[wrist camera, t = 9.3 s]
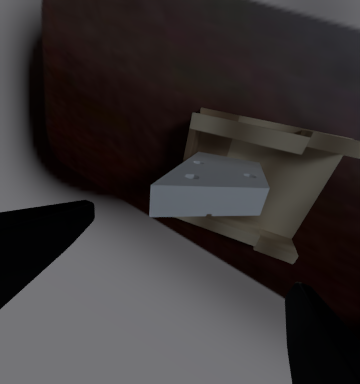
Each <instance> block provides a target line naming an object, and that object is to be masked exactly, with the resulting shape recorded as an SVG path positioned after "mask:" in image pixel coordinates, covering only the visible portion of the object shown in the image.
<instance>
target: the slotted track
mask: <svg viewBox="0 0 360 384" xmlns="http://www.w3.org/2000/svg"><path fill="white" fill-rule="evenodd" d="M197 152H203V153H209V154H214V155H220V156H226V157H231V158H237V159H242V160H248V161H253V162H259V163H260V165H261V167H262V170H263V173H264V175H265V178H266V180H267V183H268V185H269V188H270V189H269V192H268V194H267V197H266V200H265V203H264V205H263V208H262V211H261V214H260V216H212V214H207V215H206V216H191V217H175V218H178V219H181V220H183V221H186V222H189V223H192V224H194V225H197V226H200V227H203V228H205V229H208V230H211V231H214V232H216V233H219V234H222V235H225V236H227V237H230V238H233V239H236V240H238V241H241V242H244V243H247V244H249V245H252V246H253V250H256V251H258V252H261V253H264V254H267V255H269V256H272V257H275V258H277V259H280V260H283V261H286V262H288V263H291V264H294V262H295V261H296V259H297V258H298V254H297V251H296V249H295V247H294V244H293V242H292V237H293V236H294V234H295V233H296V231H297V229H298V228H299V226H300V224H301V223H302V221H303V220H304V218H305V216H306V215H307V213H308V212H309V210H310V208H311V207H312V205H313V203H314V202H315V200H316V199H317V197H318V195H319V194H320V192H321V190H322V189H323V187H324V186H325V184H326V182H327V181H328V179H329V178H330V176H331V174H332V173H333V171H334V169H335V168H336V166H337V165H338V163H339V161H340V160H341V158H342V157H343V155H346V156H350V157H355V158H359V159H360V141H356V140H353V139H351V138H346V137H341V136H337V135H332V134H327V133H322V132H317V131H312V130H307V129H303V128H298V127H293V126H288V125H283V124H278V123H273V122H269V121H264V120H259V119H254V118H249V117H244V116H240V115H235V114H230V113H225V112H220V111H215V110H210V109H206V108H201V110H200V113H192V118H191V123H190V128H189V133H188V138H187V143H186V148H185V153H184V158H183V162H184V161H186V160H187V159H189V158H190V157H192V156H193V155H194V154H196V153H197Z"/></svg>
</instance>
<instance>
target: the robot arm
mask: <svg viewBox="0 0 360 384" xmlns="http://www.w3.org/2000/svg"><path fill="white" fill-rule="evenodd" d="M94 218H95V213H94V204H93V203H92V202H90V201H87V200H81V201H74V202H68V203H61V204H54V205H47V206H41V207H34V208H27V209H20V210H14V211H7V212H0V309H1V308H2V307H3V306H4V305H5V304H7V303H8V302H9V301H10V300H11V299H12V298H13V297H14V296H15V295H16V294H18V293H19V292H20V291H21V290H22V289H23V288H24V287H25V286H27V284H28V283H30V282H31V281H32V280H33V279H34V278H35V277H36V276H38V275H39V274H40V273H41V272H42V271H43V270H44V269H45V268H46V267H48V266H49V265H50V264H51V263H52V262H53V261H54V260H55V259H56V258H58V257H59V256H60V255H61V254H62V253H63V252H64V251H65V250H66V249H67V248H68V247H69V246H70V245H71V244H72V243H73V242H74V241H75V240H76V239H77V238H78V237H79V236H80V235H81V234H82V233H83V232H84V231H85V229H86V228H87V227H88V226H89V225H90V224H91V223H92V222H93V220H94ZM285 312H286V332H287V333H286V334H287V349H288V356H289V364H290V371H291V378H292V384H360V341H359V340H358V338H357V337H356V336H355V335H354V334H353V333H352V332H351V331H350V330H349V328H348V327H347V326H346V325H345V324H344V323H343V322H342V321H341V320H340V318H339V317H338V316H337V315H336V314H335V313H334V312H333V311H332V310H331V308H330V307H329V306H328V305H327V304H326V303H325V302H324V301H323V300H322V298H321V297H320V296H319V295H318V294H317V293H316V292H315V291H314V289H313V288H312V287H310V286H309V285H306V284H303V283H301V282H296V283H295V284H294V285H293V287H292V288H291V289H290V291H289V292H288V293H287V295H286V298H285Z"/></svg>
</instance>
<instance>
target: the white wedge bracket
mask: <svg viewBox="0 0 360 384" xmlns="http://www.w3.org/2000/svg"><path fill="white" fill-rule="evenodd" d="M269 189H270V188H269V185H268V183H267V180H266V178H265V175H264V173H263V170H262V167H261V165H260V163H259V162H253V161H248V160H242V159H237V158H231V157H226V156H220V155H214V154H209V153H203V152H197V153H196V154H194V155H193V156H192V157H190V158H189V159H187V160H186V161H184V162H183V163H182V164H180V165H179V166H177V167H176V168H174V169H173V170H172V171H170V172H169V173H167V174H166V175H164V176H163V177H161V178H160V179H159V180H157V181H156V182H154V183H153V184H151V189H150V212H149V217H191V216H206V215H207V214H212V216H260V214H261V211H262V208H263V205H264V203H265V200H266V197H267V194H268V192H269Z"/></svg>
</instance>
